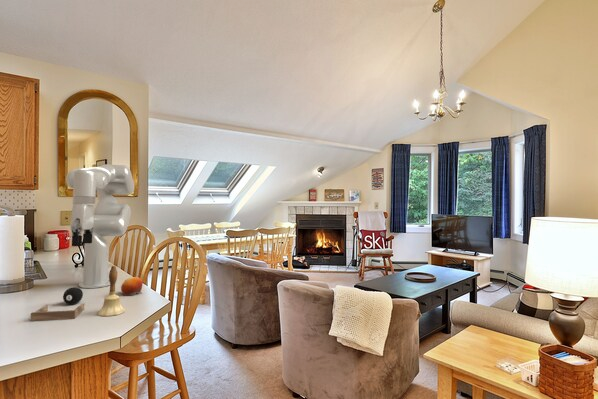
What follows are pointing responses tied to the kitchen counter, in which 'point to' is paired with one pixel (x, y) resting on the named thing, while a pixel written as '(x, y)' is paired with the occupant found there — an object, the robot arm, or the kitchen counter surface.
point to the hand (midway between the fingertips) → (82, 244)
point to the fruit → (132, 286)
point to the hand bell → (111, 298)
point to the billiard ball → (72, 295)
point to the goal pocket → (55, 314)
